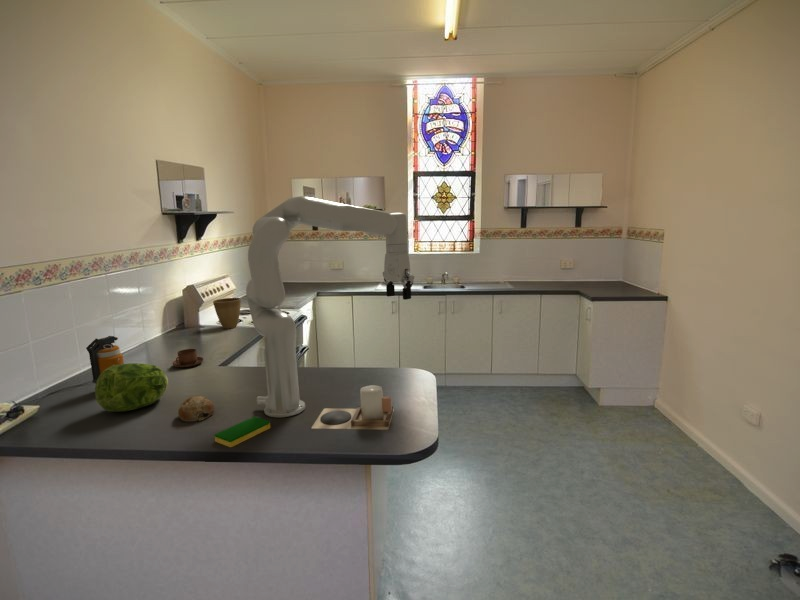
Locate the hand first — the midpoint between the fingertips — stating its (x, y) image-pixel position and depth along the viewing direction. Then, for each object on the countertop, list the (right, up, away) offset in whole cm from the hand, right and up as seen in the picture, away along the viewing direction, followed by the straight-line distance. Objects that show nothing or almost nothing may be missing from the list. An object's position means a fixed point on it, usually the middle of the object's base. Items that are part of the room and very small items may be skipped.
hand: (398, 297), depth 167 cm
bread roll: (-63, -37, -20) cm, 76 cm away
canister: (-106, -34, +6) cm, 111 cm away
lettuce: (-86, -36, -10) cm, 94 cm away
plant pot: (-97, -17, +103) cm, 142 cm away
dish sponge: (-44, -39, -34) cm, 68 cm away
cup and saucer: (-90, -29, +34) cm, 100 cm away
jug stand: (-13, -37, -28) cm, 48 cm away
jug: (-6, -36, -29) cm, 46 cm away
